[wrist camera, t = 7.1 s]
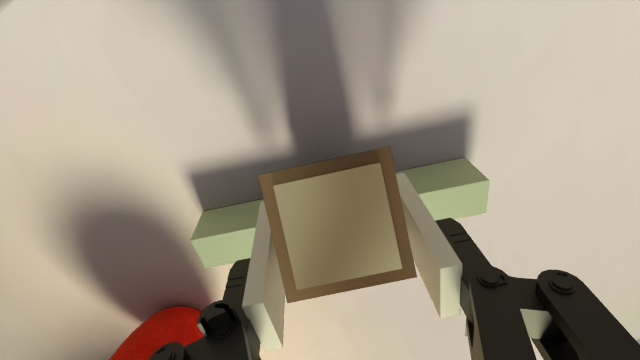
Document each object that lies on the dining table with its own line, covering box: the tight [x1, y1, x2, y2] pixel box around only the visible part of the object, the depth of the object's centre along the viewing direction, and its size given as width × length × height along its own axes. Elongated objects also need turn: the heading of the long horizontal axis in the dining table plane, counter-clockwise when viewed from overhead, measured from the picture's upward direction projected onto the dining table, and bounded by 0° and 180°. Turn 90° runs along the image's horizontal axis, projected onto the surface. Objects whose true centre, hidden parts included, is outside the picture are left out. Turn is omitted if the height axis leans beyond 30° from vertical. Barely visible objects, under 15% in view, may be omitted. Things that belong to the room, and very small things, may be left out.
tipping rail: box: [190, 158, 489, 268], centre depth 20 cm, size 18×2×3 cm, turn 101°
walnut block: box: [258, 146, 417, 303], centre depth 14 cm, size 4×4×9 cm
